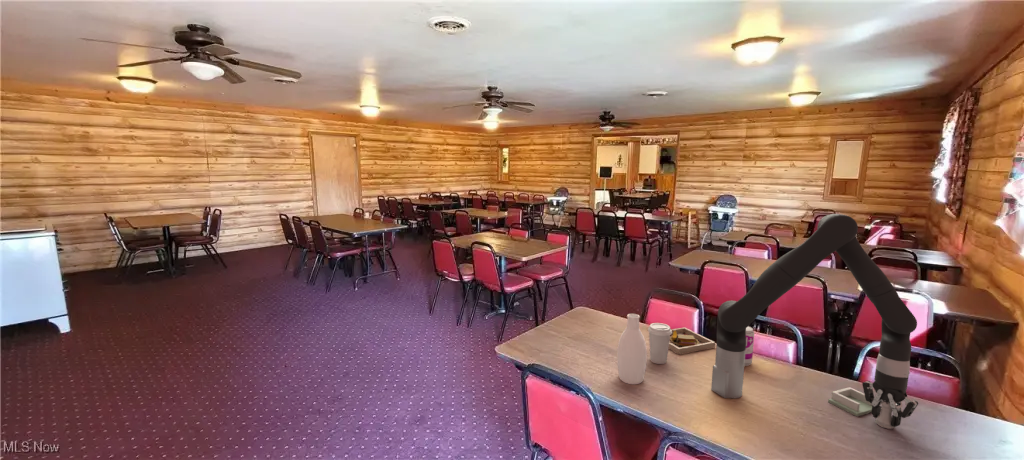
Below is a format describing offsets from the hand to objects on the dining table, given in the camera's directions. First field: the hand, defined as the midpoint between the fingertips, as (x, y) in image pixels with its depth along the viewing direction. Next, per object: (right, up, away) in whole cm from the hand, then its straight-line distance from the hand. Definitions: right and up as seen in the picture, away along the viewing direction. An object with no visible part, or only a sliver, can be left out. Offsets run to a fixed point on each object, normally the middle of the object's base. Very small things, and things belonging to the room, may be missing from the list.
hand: (885, 421), depth 130 cm
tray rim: (-38, +8, +62) cm, 74 cm away
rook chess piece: (0, -2, 0) cm, 2 cm away
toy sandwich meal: (-37, +7, +62) cm, 73 cm away
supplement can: (-22, +5, +43) cm, 48 cm away
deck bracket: (-1, 0, +11) cm, 11 cm away
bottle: (-71, +2, +30) cm, 77 cm away
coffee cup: (-55, +5, +45) cm, 71 cm away
